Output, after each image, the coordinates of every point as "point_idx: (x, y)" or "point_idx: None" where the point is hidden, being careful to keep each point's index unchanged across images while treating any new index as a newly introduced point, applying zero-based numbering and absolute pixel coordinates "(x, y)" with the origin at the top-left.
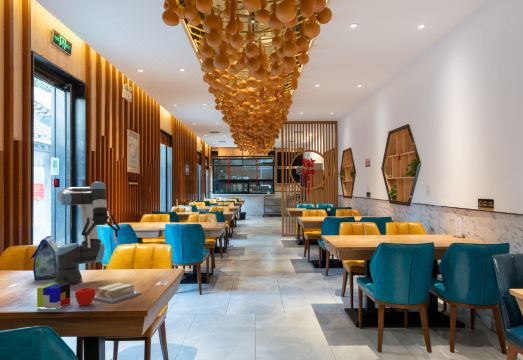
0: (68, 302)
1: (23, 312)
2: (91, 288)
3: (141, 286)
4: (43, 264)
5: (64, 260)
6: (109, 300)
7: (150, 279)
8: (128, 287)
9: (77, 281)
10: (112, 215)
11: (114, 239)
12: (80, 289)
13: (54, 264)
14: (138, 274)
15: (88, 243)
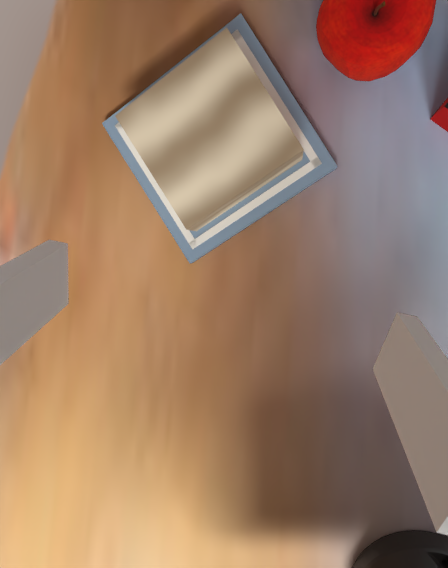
0: (443, 104)
1: None
2: (342, 8)
3: (88, 276)
4: None
5: None
6: (250, 31)
7: (36, 396)
8: (144, 96)
9: (377, 548)
10: None
11: (33, 261)
12: (407, 16)
13: None
14: (74, 542)
15: (426, 341)
